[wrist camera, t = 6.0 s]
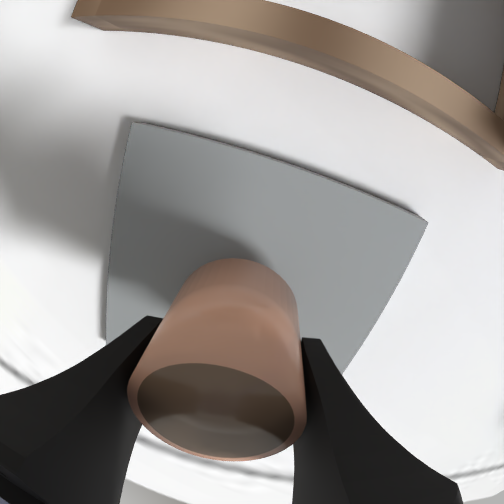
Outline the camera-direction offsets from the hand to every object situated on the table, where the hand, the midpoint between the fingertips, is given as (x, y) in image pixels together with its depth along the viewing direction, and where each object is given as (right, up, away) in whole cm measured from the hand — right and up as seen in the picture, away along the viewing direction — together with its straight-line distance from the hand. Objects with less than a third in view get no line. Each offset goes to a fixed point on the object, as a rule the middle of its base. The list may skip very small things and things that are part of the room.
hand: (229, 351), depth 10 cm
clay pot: (0, +1, +1) cm, 2 cm away
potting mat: (0, +1, +3) cm, 4 cm away
